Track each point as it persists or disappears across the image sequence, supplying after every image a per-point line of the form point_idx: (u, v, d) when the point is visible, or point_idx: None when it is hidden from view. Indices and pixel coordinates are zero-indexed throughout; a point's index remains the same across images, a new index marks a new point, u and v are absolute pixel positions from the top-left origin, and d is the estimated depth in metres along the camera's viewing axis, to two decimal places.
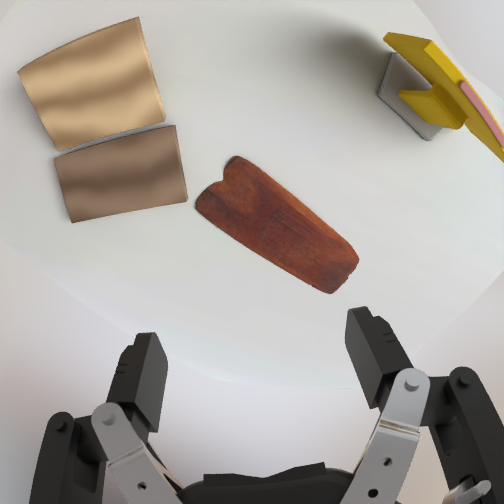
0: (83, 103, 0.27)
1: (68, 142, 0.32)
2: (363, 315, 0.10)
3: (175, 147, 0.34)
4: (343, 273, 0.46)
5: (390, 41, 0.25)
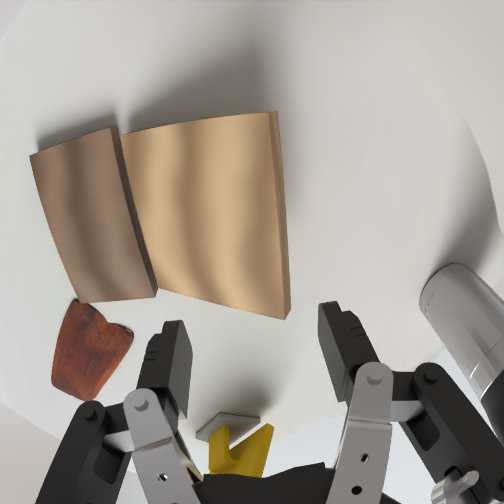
0: (182, 209, 0.23)
1: (130, 159, 0.23)
2: (332, 309, 0.11)
3: (132, 298, 0.30)
4: (71, 393, 0.42)
5: (263, 436, 0.40)
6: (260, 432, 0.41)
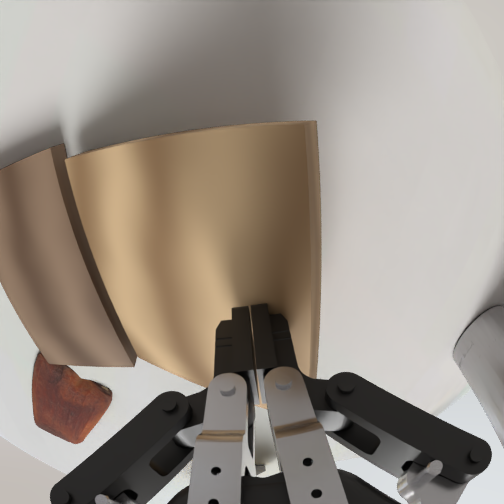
0: (155, 277, 0.15)
1: (80, 194, 0.15)
2: (259, 311, 0.11)
3: (106, 365, 0.22)
4: (57, 435, 0.33)
5: None
6: None
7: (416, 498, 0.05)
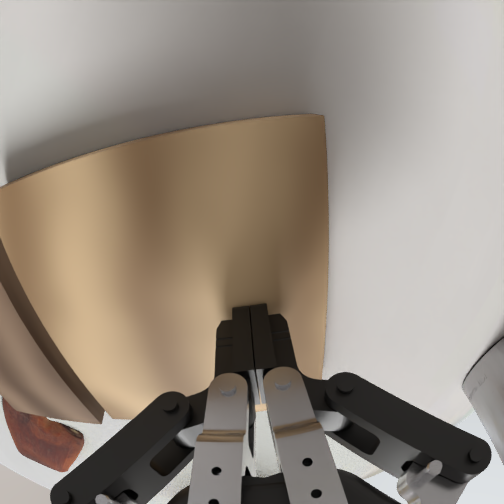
0: (138, 314, 0.12)
1: (13, 239, 0.10)
2: (259, 312, 0.11)
3: (72, 420, 0.17)
4: (42, 464, 0.28)
5: None
6: None
7: (415, 498, 0.05)
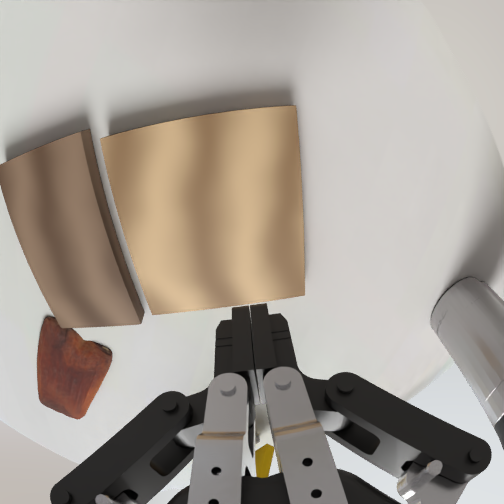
0: (192, 212, 0.21)
1: (116, 165, 0.19)
2: (259, 312, 0.11)
3: (116, 324, 0.26)
4: (60, 411, 0.37)
5: (262, 458, 0.36)
6: (260, 453, 0.38)
7: (415, 499, 0.05)
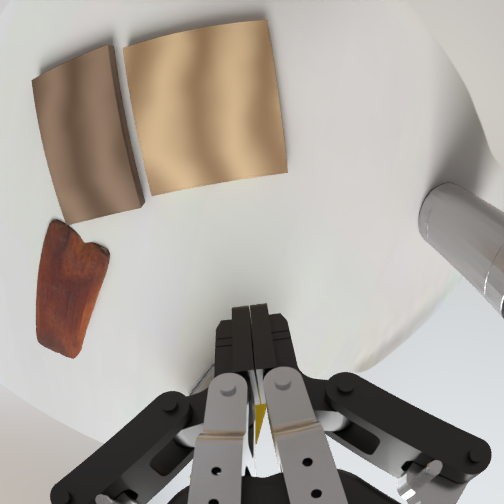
0: (190, 96, 0.24)
1: (133, 65, 0.22)
2: (259, 312, 0.11)
3: (118, 211, 0.29)
4: (57, 349, 0.41)
5: None
6: None
7: (415, 499, 0.05)
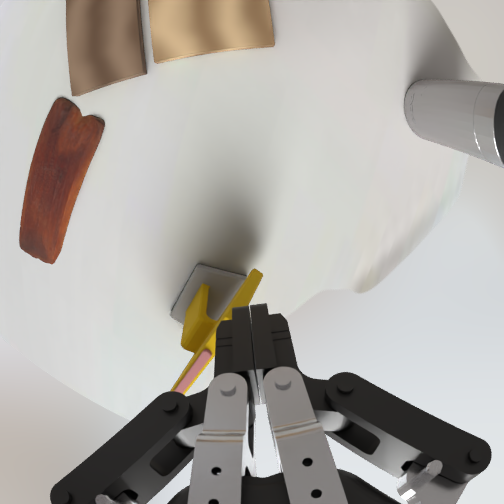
0: None
1: None
2: (259, 312, 0.11)
3: (121, 78, 0.28)
4: (37, 252, 0.39)
5: (248, 277, 0.37)
6: (245, 279, 0.39)
7: (415, 499, 0.05)
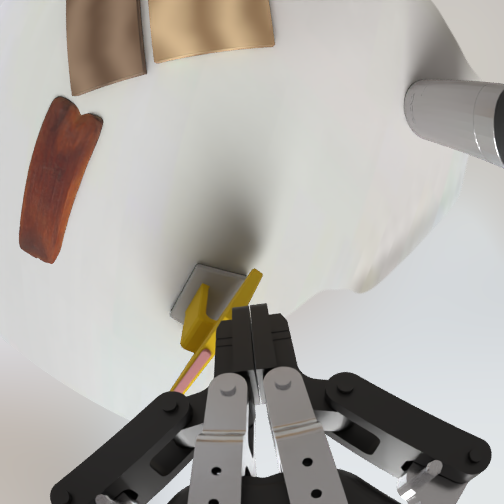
0: None
1: None
2: (259, 312, 0.11)
3: (121, 77, 0.28)
4: (37, 252, 0.39)
5: (248, 277, 0.37)
6: (245, 279, 0.39)
7: (415, 499, 0.05)
